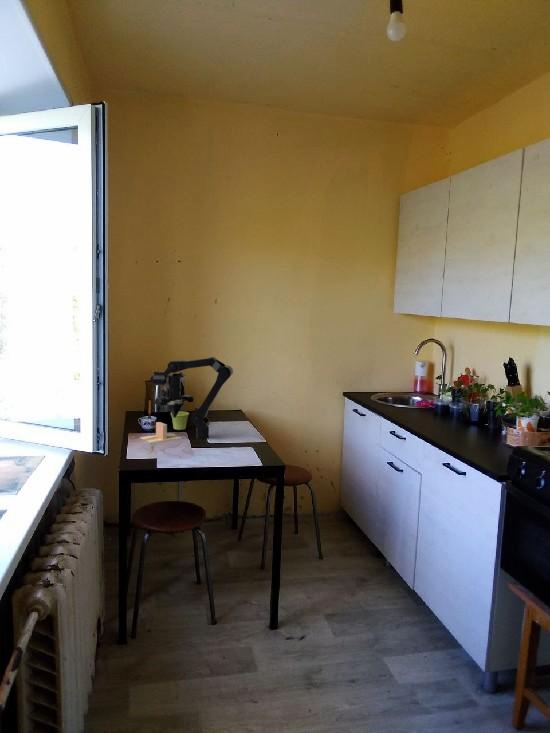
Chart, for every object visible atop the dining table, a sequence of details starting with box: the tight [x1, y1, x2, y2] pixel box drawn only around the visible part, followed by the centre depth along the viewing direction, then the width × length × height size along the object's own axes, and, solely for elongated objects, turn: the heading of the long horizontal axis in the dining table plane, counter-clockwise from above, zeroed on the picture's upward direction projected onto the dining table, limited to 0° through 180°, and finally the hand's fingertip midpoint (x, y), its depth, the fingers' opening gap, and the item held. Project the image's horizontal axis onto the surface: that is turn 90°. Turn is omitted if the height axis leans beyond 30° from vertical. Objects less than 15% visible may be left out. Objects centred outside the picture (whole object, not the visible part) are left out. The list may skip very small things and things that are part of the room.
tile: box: [155, 421, 168, 440], centre depth 263 cm, size 7×2×7 cm, turn 40°
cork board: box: [139, 432, 183, 444], centre depth 263 cm, size 12×17×1 cm
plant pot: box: [170, 411, 190, 431], centre depth 283 cm, size 9×9×9 cm
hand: (174, 417), depth 267 cm, fingers closed
